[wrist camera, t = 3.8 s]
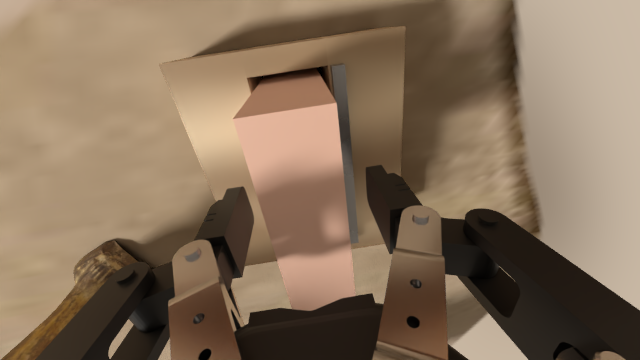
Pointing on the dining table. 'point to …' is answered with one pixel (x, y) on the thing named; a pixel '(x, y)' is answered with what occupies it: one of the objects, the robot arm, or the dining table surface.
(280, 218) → the pink square prism
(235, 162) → the dispenser
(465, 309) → the dining table surface
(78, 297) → the sculpture
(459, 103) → the dining table surface
